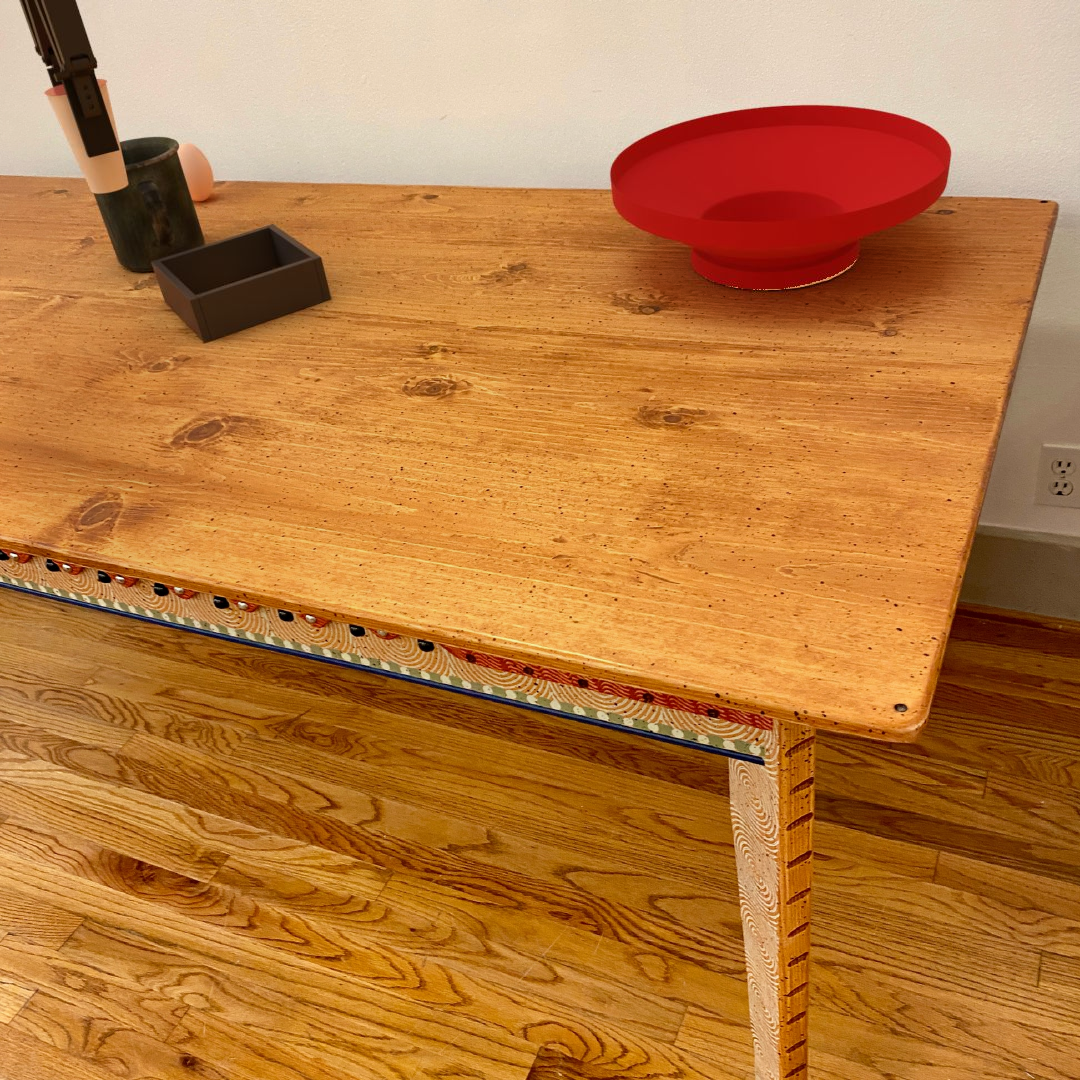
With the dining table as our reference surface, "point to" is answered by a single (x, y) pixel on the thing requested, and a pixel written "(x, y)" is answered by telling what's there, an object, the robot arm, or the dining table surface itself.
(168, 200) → the mug
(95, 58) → the robot arm
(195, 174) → the egg
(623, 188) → the bowl
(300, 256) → the dark brown open box
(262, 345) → the dining table surface
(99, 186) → the cup
